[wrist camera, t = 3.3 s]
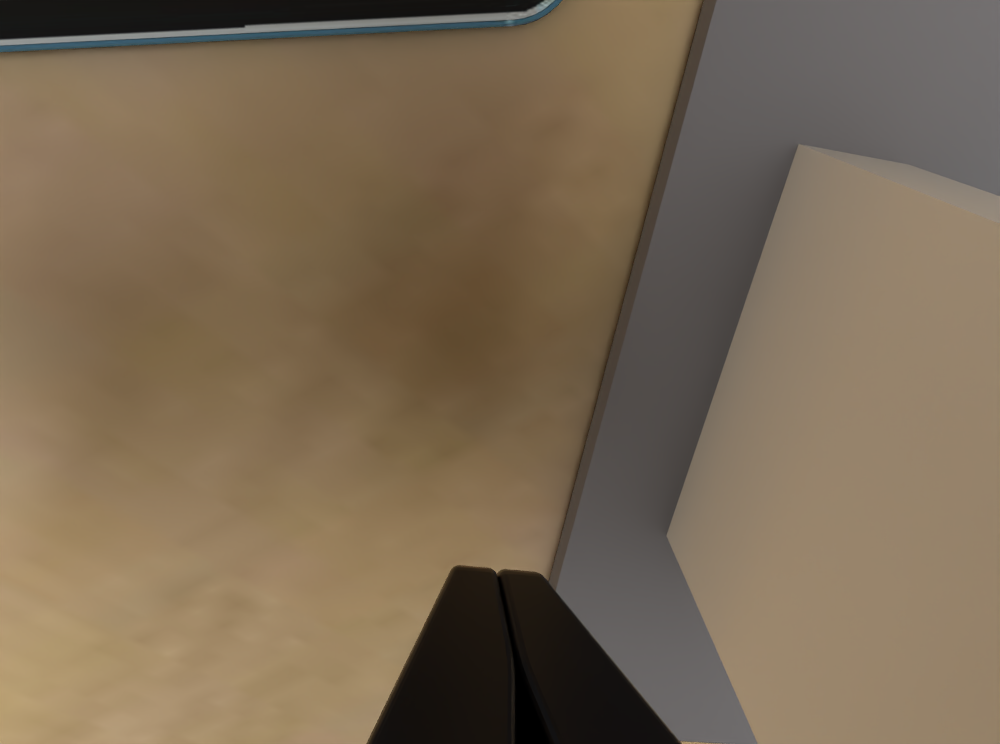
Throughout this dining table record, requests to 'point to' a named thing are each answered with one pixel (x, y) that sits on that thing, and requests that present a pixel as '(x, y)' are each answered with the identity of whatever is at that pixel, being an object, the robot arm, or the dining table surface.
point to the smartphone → (240, 19)
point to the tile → (858, 465)
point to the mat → (744, 284)
